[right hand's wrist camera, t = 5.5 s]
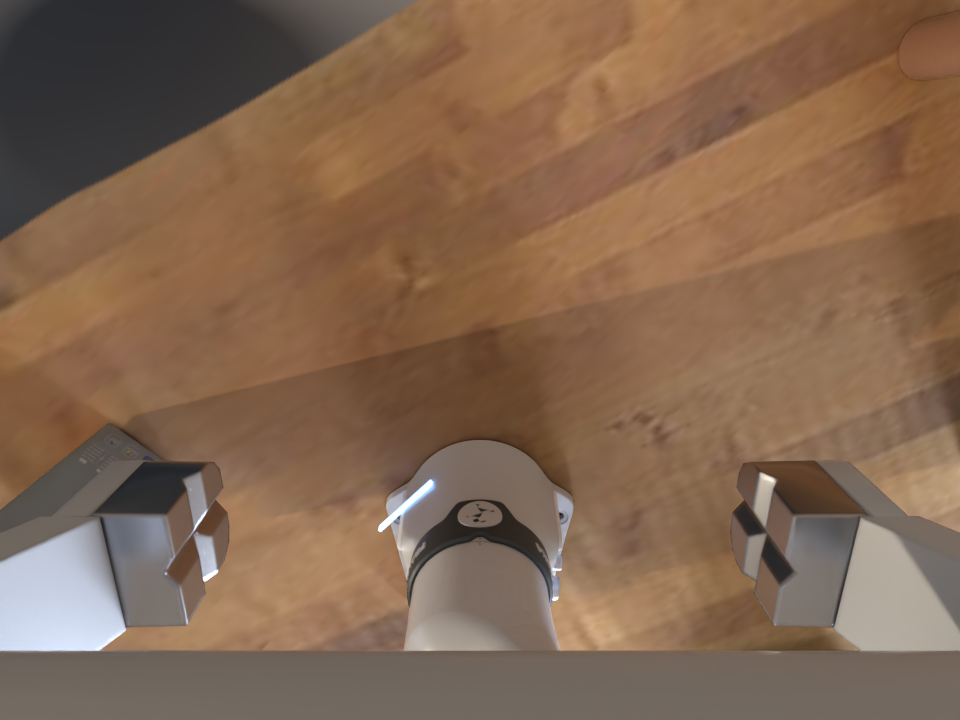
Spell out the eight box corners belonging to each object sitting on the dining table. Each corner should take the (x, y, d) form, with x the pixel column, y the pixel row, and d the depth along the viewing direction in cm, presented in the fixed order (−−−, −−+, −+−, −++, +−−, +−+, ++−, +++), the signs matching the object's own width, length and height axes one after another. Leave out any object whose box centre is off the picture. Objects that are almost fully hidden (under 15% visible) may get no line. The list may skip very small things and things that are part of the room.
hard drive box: (108, 418, 62) (-50, 546, 44) (176, 465, 64) (52, 608, 46) (29, 521, 66) (-147, 678, 48) (95, 562, 68) (-50, 730, 50)
